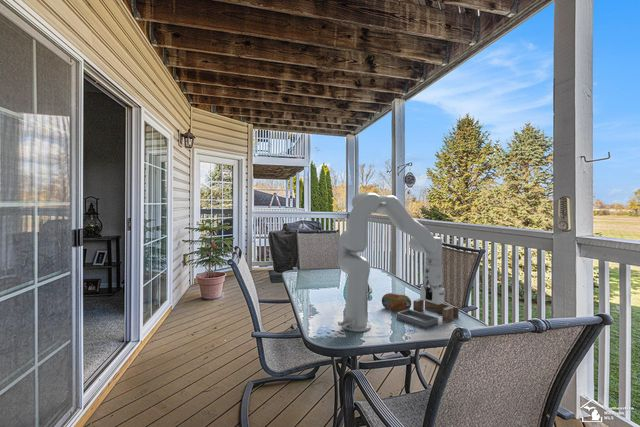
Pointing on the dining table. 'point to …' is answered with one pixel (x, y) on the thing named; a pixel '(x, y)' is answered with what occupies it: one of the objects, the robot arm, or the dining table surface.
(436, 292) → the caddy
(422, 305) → the bay
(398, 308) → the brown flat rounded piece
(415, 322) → the tray
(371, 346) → the dining table surface
